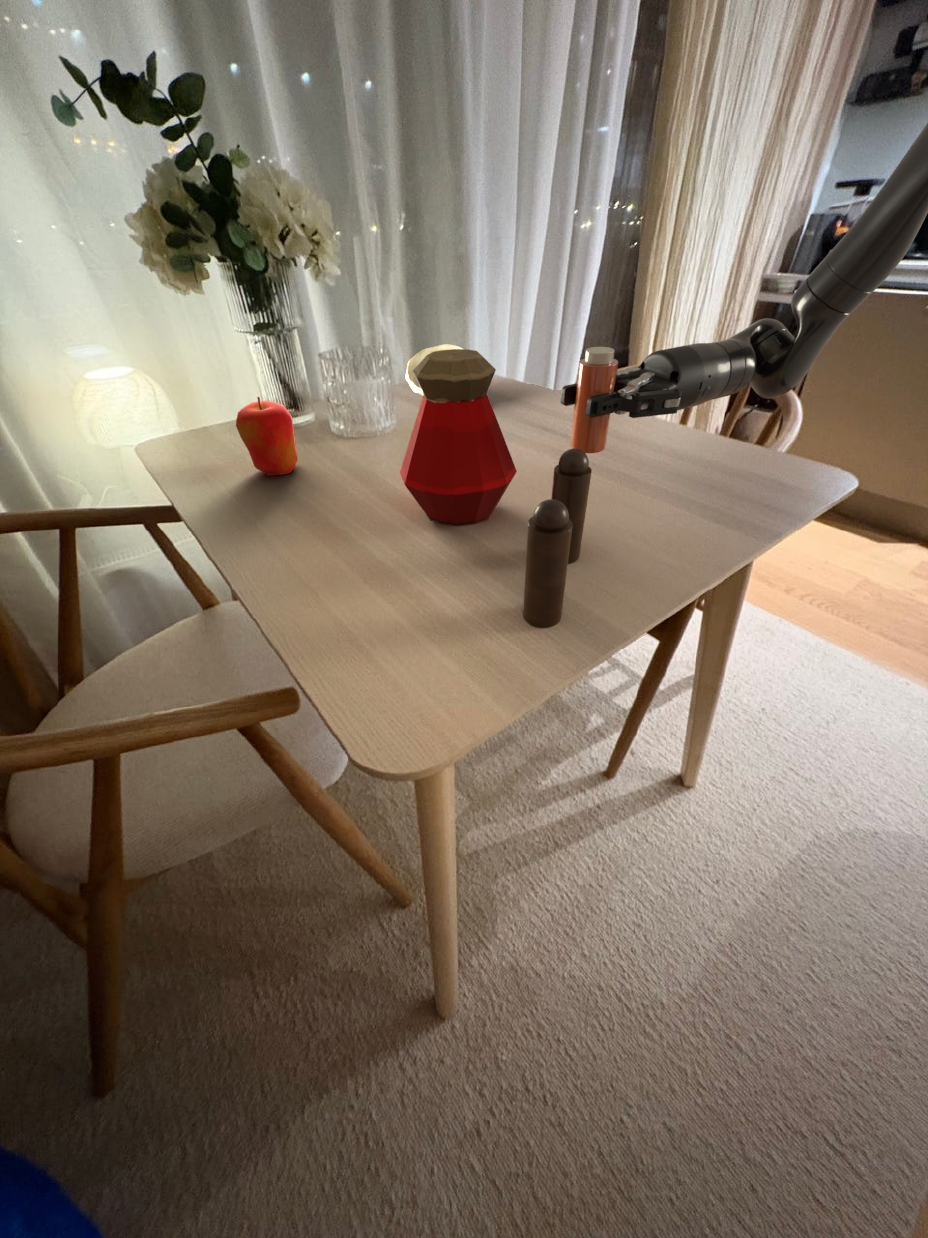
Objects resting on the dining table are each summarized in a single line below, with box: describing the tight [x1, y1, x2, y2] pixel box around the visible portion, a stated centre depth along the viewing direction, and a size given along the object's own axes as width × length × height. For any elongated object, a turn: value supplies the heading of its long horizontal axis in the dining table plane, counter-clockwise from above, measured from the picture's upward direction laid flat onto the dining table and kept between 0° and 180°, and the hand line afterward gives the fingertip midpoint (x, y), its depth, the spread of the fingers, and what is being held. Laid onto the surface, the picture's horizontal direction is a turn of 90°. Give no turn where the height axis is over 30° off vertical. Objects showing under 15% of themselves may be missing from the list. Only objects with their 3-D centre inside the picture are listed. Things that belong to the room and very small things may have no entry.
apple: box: [235, 396, 298, 476], centre depth 79 cm, size 9×8×12 cm
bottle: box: [399, 348, 517, 527], centre depth 63 cm, size 16×14×20 cm
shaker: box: [569, 346, 619, 454], centre depth 60 cm, size 4×4×11 cm
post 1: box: [522, 498, 573, 629], centre depth 48 cm, size 4×4×13 cm
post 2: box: [551, 448, 593, 565], centre depth 56 cm, size 4×4×13 cm
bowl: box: [405, 343, 463, 397], centre depth 104 cm, size 15×14×10 cm
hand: (576, 401), depth 58 cm, fingers closed on shaker, 4 cm apart
